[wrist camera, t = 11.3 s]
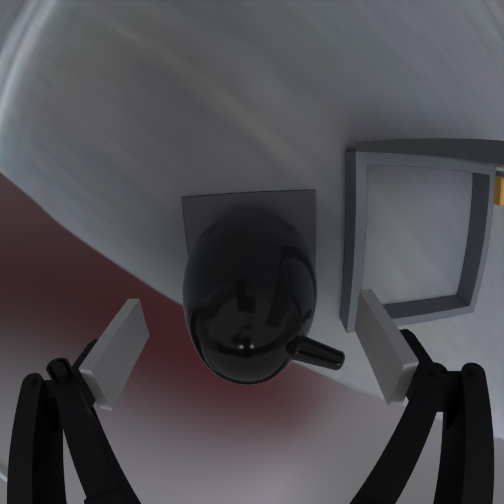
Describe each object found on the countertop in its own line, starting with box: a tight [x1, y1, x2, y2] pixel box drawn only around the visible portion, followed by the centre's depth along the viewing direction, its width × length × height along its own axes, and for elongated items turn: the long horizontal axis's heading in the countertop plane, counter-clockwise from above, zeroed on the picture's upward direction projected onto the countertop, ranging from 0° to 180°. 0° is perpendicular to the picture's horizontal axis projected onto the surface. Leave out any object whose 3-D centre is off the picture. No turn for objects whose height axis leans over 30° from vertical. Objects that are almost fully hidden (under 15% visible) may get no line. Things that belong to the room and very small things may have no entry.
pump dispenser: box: [183, 211, 345, 385], centre depth 20 cm, size 10×10×15 cm
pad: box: [181, 190, 316, 264], centre depth 28 cm, size 12×12×1 cm
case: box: [340, 139, 504, 333], centre depth 17 cm, size 18×18×20 cm
